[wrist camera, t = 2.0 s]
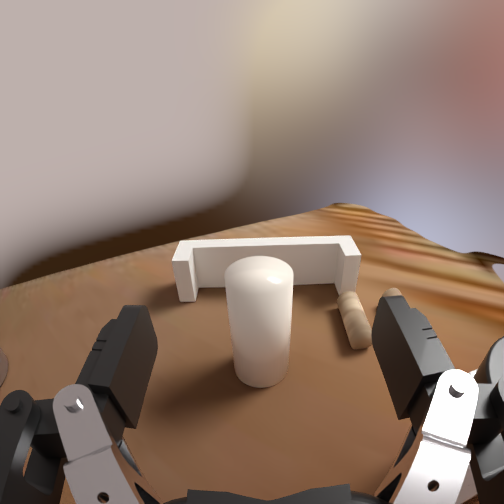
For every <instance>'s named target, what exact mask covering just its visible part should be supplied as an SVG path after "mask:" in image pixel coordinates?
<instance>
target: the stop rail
mask: <svg viewBox="0 0 504 504" xmlns="http://www.w3.org/2000/svg"><path fill="white" fill-rule="evenodd" d="M252 256H268V257H274V258H277V259H280V260H282V261H284V262H286V263H287V264H288V265H289V266H290V267H291V268H292V270H293V285H307V284H329V283H335V286H336V289H337V291H338V294H339V296H340V295H341V294H342V293H344V292H347V291H352V292H355V290H356V285H357V279H358V273H359V267H360V261H361V254H360V252H359V250H358V248H357V247H356V245H355V243H354V241H353V240H352V238H351V236H314V237H277V238H245V239H215V240H188V241H180V242H179V245H178V247H177V249H176V252H175V254H174V257H173V259H172V265H173V270H174V276H175V281H176V285H177V290H178V295H179V300H180V302H195V301H196V297H197V293H198V288H204V287H225V277H224V276H225V271H226V269H227V268H228V267H229V266H230V265H231V264H232V263H234V262H236V261H238V260H240V259H243V258H247V257H252Z"/></svg>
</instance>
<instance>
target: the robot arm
mask: <svg viewBox="0 0 504 504" xmlns="http://www.w3.org/2000/svg"><path fill="white" fill-rule="evenodd" d="M371 337H372V345H373V348H374V351H375V353H376V356H377V359H378V361H379V364H380V367H381V370H382V373H383V375H384V378H385V381H386V384H387V387H388V390H389V393H390V396H391V399H392V402H393V405H394V408H395V411H396V414H397V417H398V420H400V419H405V418H409V417H410V420H411V423H412V424H411V426H410V427H409V429H408V432H407V434H406V436H405V439H404V441H403V443H402V445H401V448H400V450H399V452H398V454H397V456H396V458H395V460H394V462H393V464H392V466H391V468H390V470H389V472H388V473H387V475H386V477H385V478H384V479H383V481H382V482H381V484H380V485H379V487H378V489H377V490H376V492H375V494H374V495H369V494H366V493H361V492H355V491H350V485H349V484H344V485H337V486H330V487H323V488H314V489H309V490H306V491H303V492H299V493H296V494H293V495H290V496H286V497H283V498H279V499H275V500H271V501H266V500H260V499H255V498H251V497H246V496H242V495H237V494H233V493H229V492H217V491H201V490H189V489H188V492H187V497H183V498H179V499H174V500H171V501H168V502H166V503H163V501H162V500H161V498H160V497H159V495H158V494H157V493H156V491H155V490H154V489H153V487H152V486H151V485H150V484H149V482H148V481H147V479H146V478H145V476H144V474H143V473H142V471H141V469H140V467H139V465H138V464H137V462H136V460H135V458H134V456H133V455H132V453H131V451H130V449H129V447H128V445H127V443H126V441H125V439H124V437H123V436H122V435H123V432H124V428H125V427H127V428H134V429H136V427H137V423H138V419H139V416H140V412H141V408H142V404H143V401H144V397H145V393H146V390H147V386H148V383H149V379H150V376H151V372H152V369H153V365H154V362H155V358H156V355H157V349H158V343H157V337H156V334H155V331H154V328H153V325H152V321H151V318H150V315H149V312H148V309H147V307H146V306H144V305H125V306H123V308H122V310H121V312H120V314H119V316H118V318H117V319H111V320H110V321H109V322H108V323H107V324H106V325H105V326H104V327H103V328H102V329H101V331H100V333H99V335H98V337H97V339H96V342H95V343H94V345H93V347H92V351H90V353H89V356H88V358H87V360H86V362H85V364H84V366H83V368H82V370H81V373H80V375H79V377H78V379H77V381H76V383H75V384H73V385H69V386H66V387H64V388H63V389H61V390H60V391H59V392H58V393H57V395H56V396H55V398H54V399H45V400H35V401H34V400H33V398H32V397H31V396H30V395H29V393H27V392H26V391H23V390H16V391H13V392H11V393H10V394H8V395H7V396H6V397H5V398H4V400H3V401H2V403H1V405H0V504H59V503H60V499H61V494H62V489H63V485H64V480H65V476H66V479H67V481H68V484H69V487H70V489H71V492H72V494H73V497H74V499H75V502H76V504H455V503H456V500H457V497H458V495H459V492H460V489H461V486H462V483H463V480H464V477H465V474H466V471H467V468H468V465H469V464H470V468H471V471H472V475H473V479H474V483H475V487H476V491H477V495H478V499H479V504H504V441H503V439H502V436H501V432H502V431H504V375H503V376H502V377H501V378H500V379H499V381H498V382H497V384H479V383H476V382H475V381H474V379H473V378H472V377H471V376H470V375H469V374H467V373H465V372H463V371H459V370H456V369H455V368H454V366H453V364H452V362H451V360H450V358H449V356H448V355H447V353H446V351H445V349H444V347H443V345H442V344H441V342H440V340H439V338H437V335H436V333H435V331H434V330H432V326H431V325H430V323H429V321H428V320H427V318H426V317H425V316H424V315H423V314H422V313H421V312H419V311H418V310H417V309H416V308H411V309H410V307H409V305H408V303H407V302H406V300H405V298H404V297H403V296H402V295H397V296H386V297H381V298H380V300H379V303H378V307H377V312H376V316H375V320H374V324H373V328H372V334H371ZM7 371H8V360H7V357H6V355H5V354H4V352H3V351H2V349H1V348H0V386H1V384H2V383H3V381H4V379H5V377H6V374H7ZM30 446H31V447H32V448H33V449H32V452H31V455H30V458H29V461H28V465H27V468H26V471H25V475H24V477H23V466H24V463H25V460H26V457H27V453H28V450H29V447H30Z"/></svg>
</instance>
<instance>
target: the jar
mask: <svg viewBox="0 0 504 504" xmlns="http://www.w3.org/2000/svg"><path fill="white" fill-rule="evenodd" d="M468 374H469V375H470V376H471V377H472V378H473V379H474V381H475V382H476V383H479V384H497V382H498V381H499V379H500V378H501V377H502V376H503V375H504V336H503V337H502V338H500V339H498V340H497V341H496V342H495V343H494V344H493V345H492V346H491V348H490V350H489V351H488V353H487V355H486V356H485V358H484V360H483V362H482V363H481V365H480V366H479V368H478V369H476V370H474V371H471V372H469V373H468ZM501 436H502V439H503V441H504V431H502V432H501ZM475 496H477V491H476V487H475V483H474V479H473V475H472V471H471V468H470V464H469V465H468V468H467V471H466V474H465V477H464V480H463V483H462V486H461V489H460V492H459V495H458V497H457V500H456V503H455V504H463V503H464V502H466V501H468V500H470V499H472V498H474V497H475Z"/></svg>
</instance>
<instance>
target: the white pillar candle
mask: <svg viewBox="0 0 504 504" xmlns="http://www.w3.org/2000/svg"><path fill="white" fill-rule="evenodd" d="M224 277H225V287H226V296H227V306H228V315H229V324H230V333H231V341H232V350H233V358H234V366H235V372H236V375H237V377H238V378H239V379H240V380H241V381H242V382H243V383H245V384H247V385H249V386H252V387H257V388H265V387H270V386H273V385H276V384H277V383H279V382H280V381H282V380H283V379H284V377H285V376H286V374H287V372H288V364H289V349H290V333H291V316H292V296H293V270H292V268H291V267H290V266H289V265H288V264H287V263H286V262H284V261H282V260H280V259H277V258H274V257H268V256H252V257H247V258H243V259H240V260H238V261H236V262H234V263H232V264H231V265H230V266H229V267H228V268H227V269H226V271H225V276H224Z"/></svg>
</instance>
